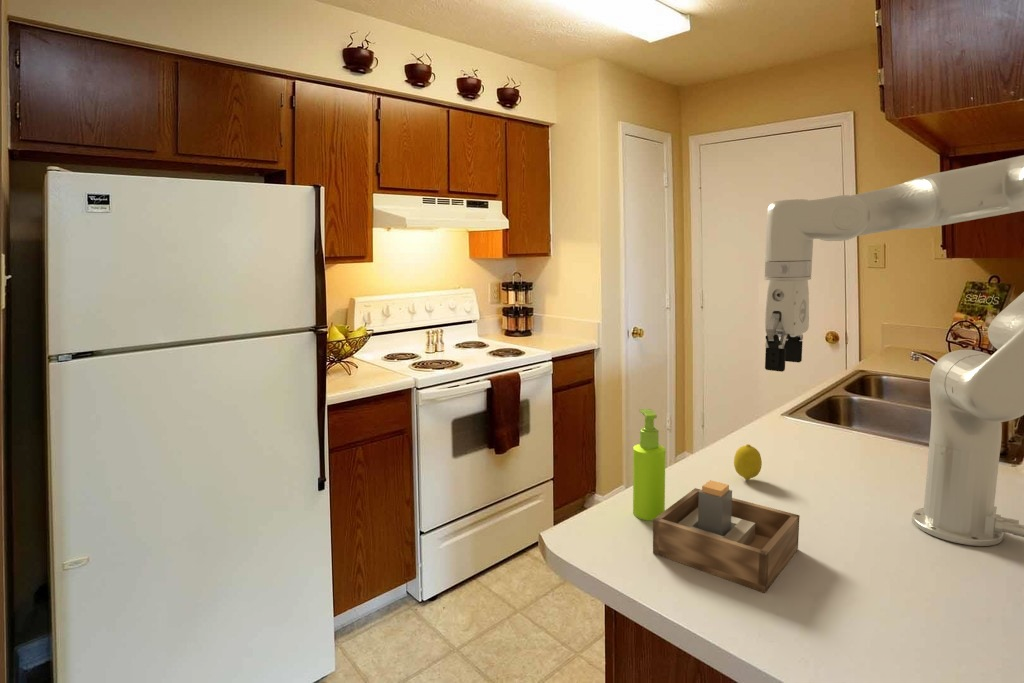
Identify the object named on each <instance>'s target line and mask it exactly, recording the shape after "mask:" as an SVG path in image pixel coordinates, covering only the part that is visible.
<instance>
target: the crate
mask: <svg viewBox="0 0 1024 683" xmlns="http://www.w3.org/2000/svg"><path fill="white" fill-rule="evenodd" d="M701 490H702V489H701V488H697V487H694V488H693V489H692V490H691V491H689V492H688V493H687V494H685V495H684V496H682V497H681V498H680V499H678V500H677V501H676V502H675V503H673V504H672V505H670V506H669V507H668V508H665V511H664V512H662V513H661V514H660V515H658V516H657V517H656V518H654V519H653V522H652V523H653V524H652V554H654V555H656V556H659V557H662V558H666V559H668V560H671V561H673V562H677V563H679V564H682V565H685V566H688V567H691V568H694V569H696V570H700V571H702V572H705V573H708V574H711V575H712V576H716V577H718V578H721V579H724V580H727V581H730V582H732V583H736V584H739V585H741V586H744V587H747V588H749V589H751V590H752V589H753V590H755V591H758V592H760V593H763V594H765V593H766V592H767V591H768V589H770V587H771V586H772V584H773V583H774V582H775V580H776V579H777V577H778V576H779V575H780V574H781V572H782V571H783V570H784V569H785V567H786V566H787V564H788V563H789V562H790V561H791V559H792V558H793V556H794V555H795V554H796V552H797V551H798V550H799V537H800V536H799V535H800V532H799V531H800V517H801V516H800V514H796V513H791V512H789V511H784V510H781V509H776V508H773V507H769V506H764V505H761V504H757V503H753V502H750V501H746V500H743V499H742V500H741V499H740V498H739V499H738V498H735V497H732V514H731V530H730V531H729V532H728V533H727V534H726V535H725V536H721V535H718V534H714V533H711V532H708V531H705V530H701V529H698V502H699V491H701Z"/></svg>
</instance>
